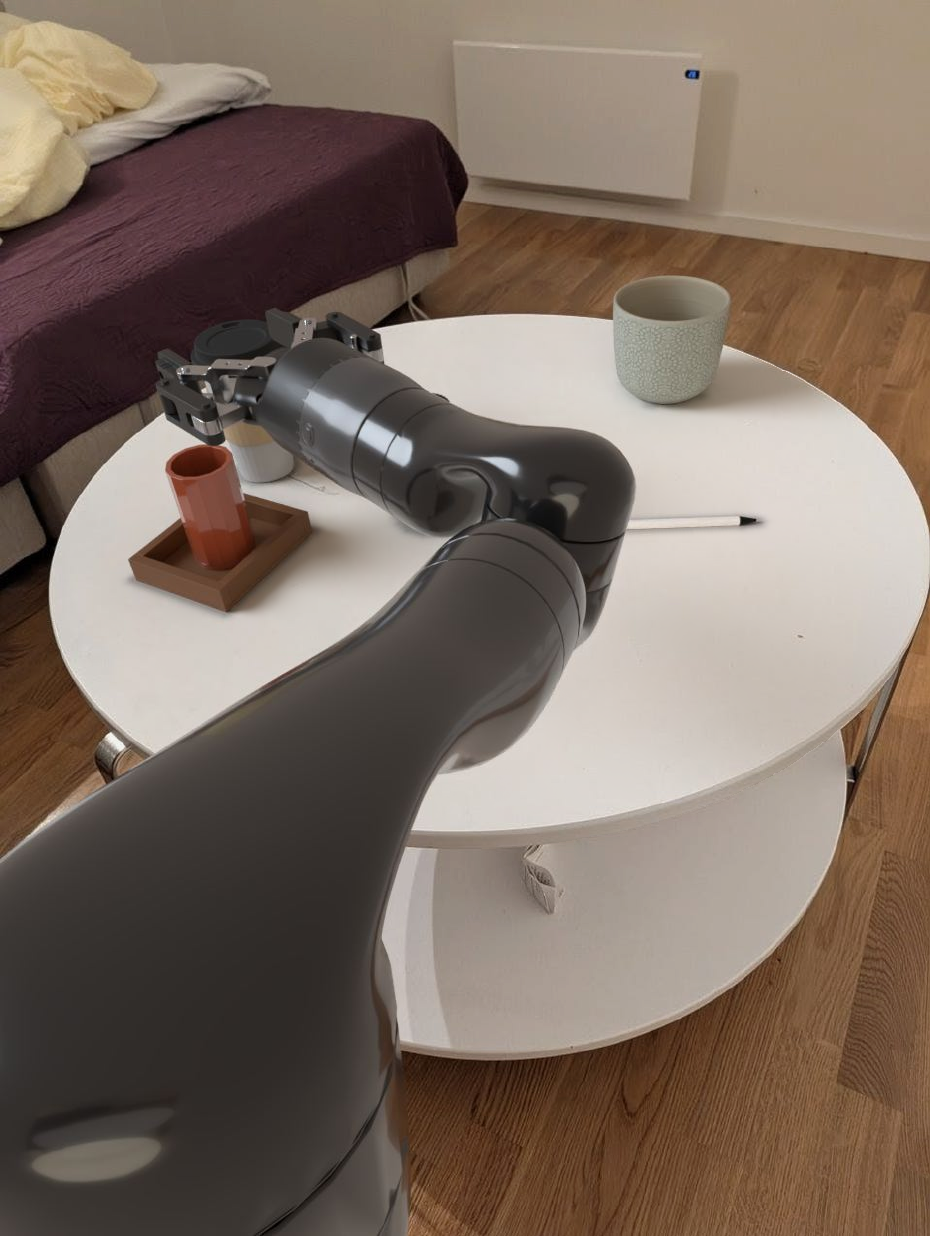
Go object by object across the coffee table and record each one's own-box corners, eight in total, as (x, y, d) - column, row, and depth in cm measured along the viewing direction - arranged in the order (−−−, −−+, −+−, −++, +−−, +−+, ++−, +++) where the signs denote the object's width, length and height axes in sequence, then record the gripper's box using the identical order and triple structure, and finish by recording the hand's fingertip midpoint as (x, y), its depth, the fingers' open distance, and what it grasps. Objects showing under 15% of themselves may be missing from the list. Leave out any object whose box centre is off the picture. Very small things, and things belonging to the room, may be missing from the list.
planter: (587, 392, 107) (589, 301, 100) (655, 355, 113) (662, 266, 105) (673, 428, 99) (682, 332, 92) (741, 386, 105) (754, 293, 98)
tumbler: (230, 577, 84) (202, 485, 78) (182, 561, 87) (150, 470, 80) (269, 542, 88) (245, 452, 81) (221, 527, 90) (195, 438, 84)
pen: (552, 528, 88) (552, 518, 87) (756, 521, 86) (758, 511, 86) (553, 533, 87) (553, 524, 86) (758, 526, 86) (760, 516, 85)
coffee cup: (277, 436, 104) (247, 308, 94) (328, 465, 99) (303, 332, 89) (206, 471, 99) (167, 340, 89) (256, 504, 94) (220, 368, 84)
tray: (226, 612, 81) (219, 591, 80) (135, 580, 86) (127, 559, 84) (312, 532, 90) (308, 511, 88) (225, 506, 94) (219, 486, 92)
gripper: (267, 522, 54) (143, 427, 64) (450, 430, 61) (313, 357, 70) (237, 408, 49) (108, 324, 59) (440, 321, 56) (294, 258, 65)
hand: (220, 342), depth 65 cm, fingers open, 8 cm apart
